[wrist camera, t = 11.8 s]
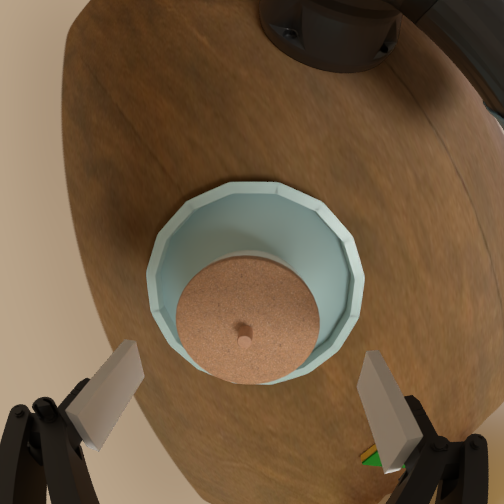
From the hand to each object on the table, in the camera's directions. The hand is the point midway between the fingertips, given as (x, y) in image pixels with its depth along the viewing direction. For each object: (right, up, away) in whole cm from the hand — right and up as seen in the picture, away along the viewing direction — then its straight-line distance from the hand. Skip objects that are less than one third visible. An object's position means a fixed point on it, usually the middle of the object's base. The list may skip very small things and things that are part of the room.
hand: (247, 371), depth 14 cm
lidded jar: (0, +3, +13) cm, 13 cm away
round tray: (0, +3, +14) cm, 14 cm away
